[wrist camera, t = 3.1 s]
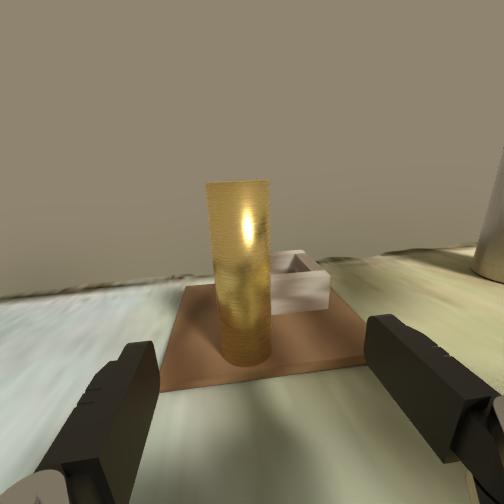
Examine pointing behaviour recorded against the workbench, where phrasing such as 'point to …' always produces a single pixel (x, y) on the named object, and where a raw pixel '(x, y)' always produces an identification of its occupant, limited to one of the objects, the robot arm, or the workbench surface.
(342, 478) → the workbench surface
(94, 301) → the workbench surface
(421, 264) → the workbench surface
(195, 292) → the socket block
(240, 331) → the golden metal peg
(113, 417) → the robot arm
